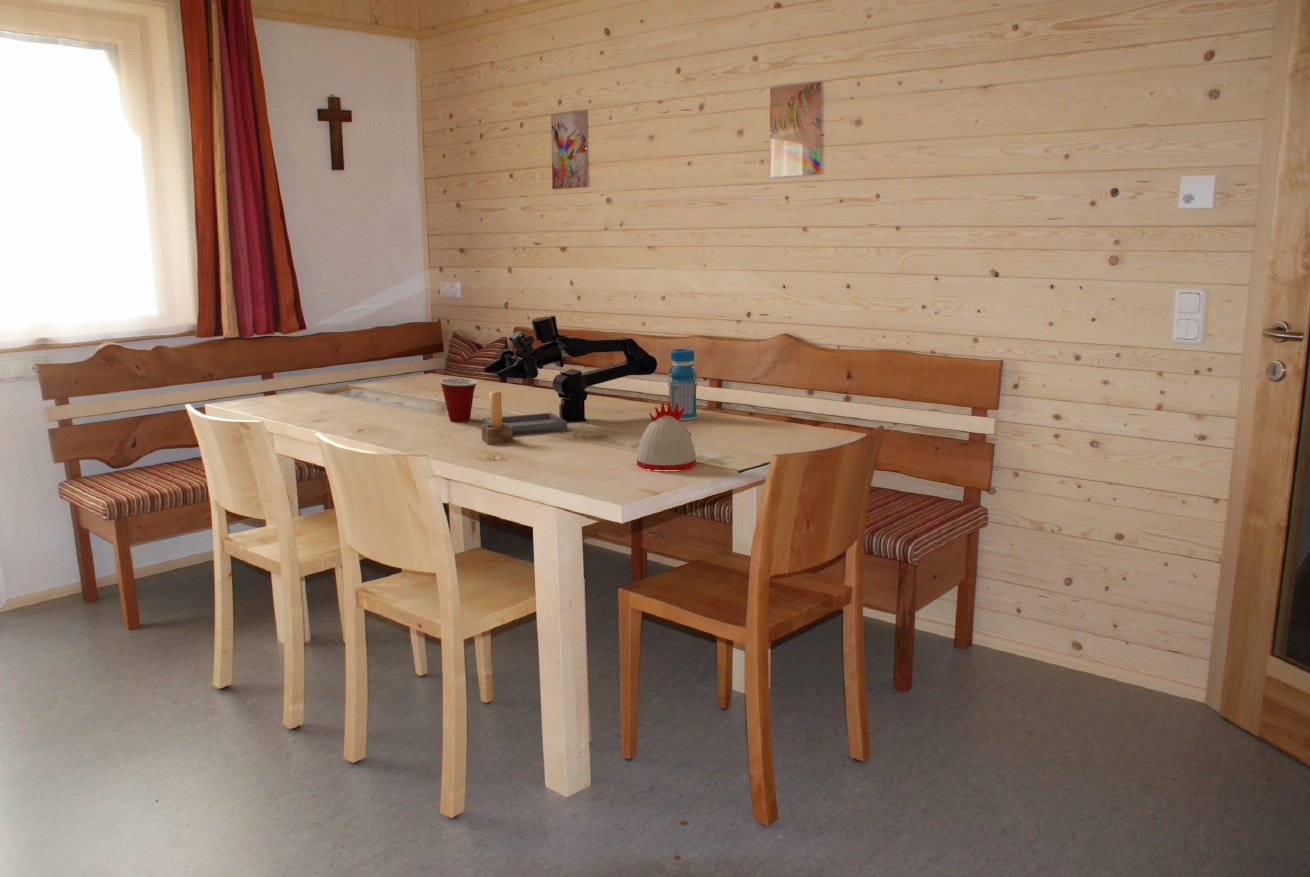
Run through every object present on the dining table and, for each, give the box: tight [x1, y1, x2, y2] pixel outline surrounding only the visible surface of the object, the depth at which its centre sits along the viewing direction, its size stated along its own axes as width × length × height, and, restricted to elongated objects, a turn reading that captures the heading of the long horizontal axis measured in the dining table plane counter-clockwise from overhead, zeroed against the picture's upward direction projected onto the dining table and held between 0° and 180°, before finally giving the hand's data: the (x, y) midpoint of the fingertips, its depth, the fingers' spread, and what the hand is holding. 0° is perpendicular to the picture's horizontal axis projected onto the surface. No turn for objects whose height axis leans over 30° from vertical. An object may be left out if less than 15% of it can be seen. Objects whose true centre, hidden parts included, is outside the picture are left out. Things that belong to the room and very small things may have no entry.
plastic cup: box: [439, 377, 478, 423], centre depth 284 cm, size 11×11×12 cm
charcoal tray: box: [482, 412, 568, 436], centre depth 272 cm, size 20×15×2 cm
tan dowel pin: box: [488, 390, 503, 428], centre depth 255 cm, size 3×3×13 cm
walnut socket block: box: [481, 423, 514, 445], centre depth 256 cm, size 7×7×4 cm
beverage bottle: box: [667, 348, 698, 421], centre depth 283 cm, size 8×8×20 cm
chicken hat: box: [636, 401, 697, 471], centre depth 227 cm, size 14×14×15 cm
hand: (490, 372), depth 267 cm, fingers open, 9 cm apart
